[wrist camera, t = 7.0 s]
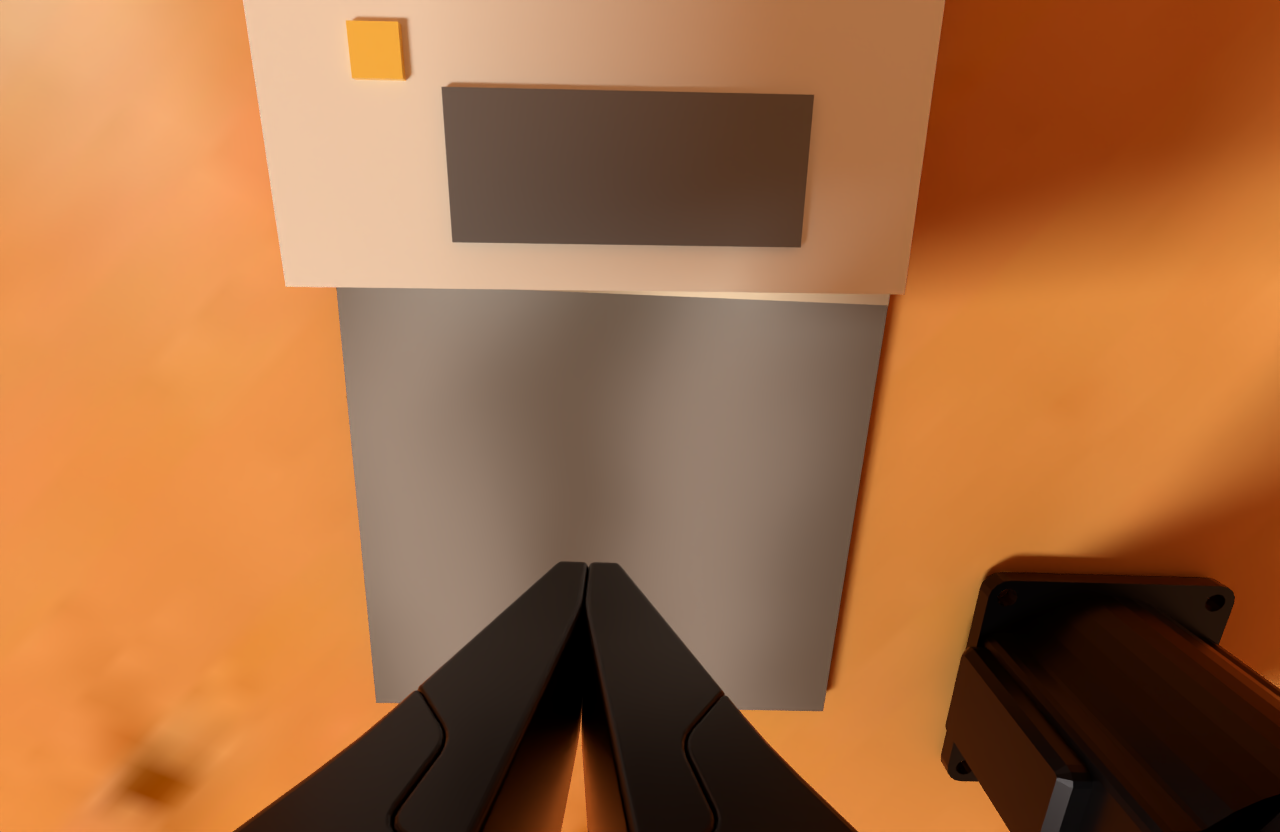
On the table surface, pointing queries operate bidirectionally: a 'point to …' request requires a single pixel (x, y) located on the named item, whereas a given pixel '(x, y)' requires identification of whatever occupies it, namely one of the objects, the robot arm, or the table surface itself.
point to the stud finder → (596, 142)
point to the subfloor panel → (611, 465)
